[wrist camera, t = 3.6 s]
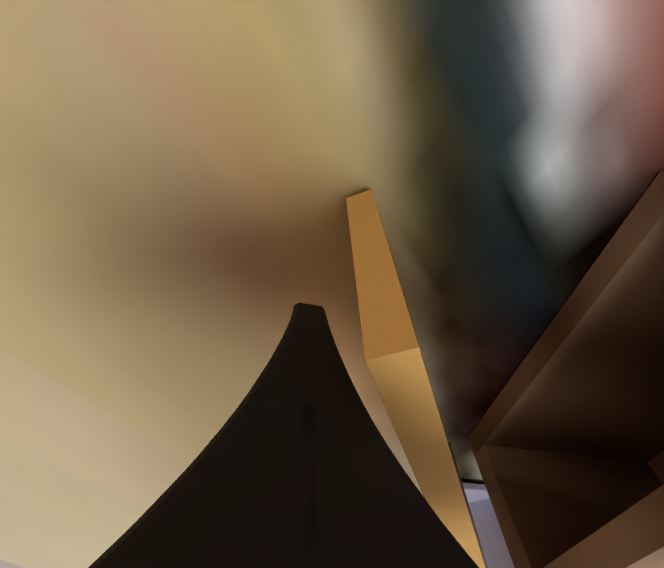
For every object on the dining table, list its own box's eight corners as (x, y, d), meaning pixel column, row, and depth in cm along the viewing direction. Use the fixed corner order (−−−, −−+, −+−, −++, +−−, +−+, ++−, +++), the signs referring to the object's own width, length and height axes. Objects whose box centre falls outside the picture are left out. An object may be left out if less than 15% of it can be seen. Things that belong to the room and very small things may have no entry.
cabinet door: (452, 449, 18) (504, 621, 13) (432, 453, 19) (476, 623, 13) (374, 188, 10) (426, 345, 5) (342, 199, 11) (359, 362, 5)
